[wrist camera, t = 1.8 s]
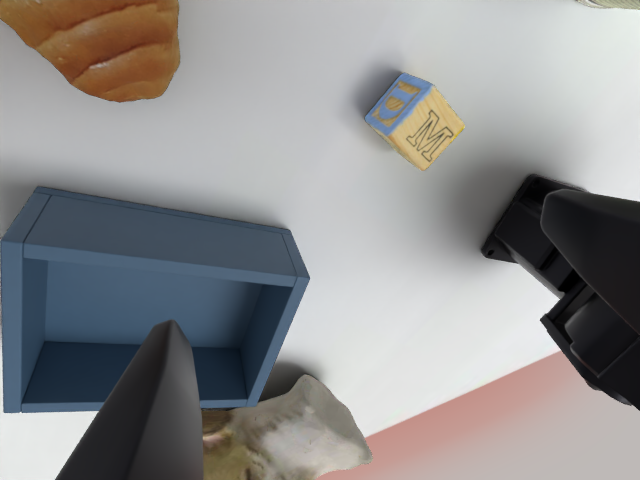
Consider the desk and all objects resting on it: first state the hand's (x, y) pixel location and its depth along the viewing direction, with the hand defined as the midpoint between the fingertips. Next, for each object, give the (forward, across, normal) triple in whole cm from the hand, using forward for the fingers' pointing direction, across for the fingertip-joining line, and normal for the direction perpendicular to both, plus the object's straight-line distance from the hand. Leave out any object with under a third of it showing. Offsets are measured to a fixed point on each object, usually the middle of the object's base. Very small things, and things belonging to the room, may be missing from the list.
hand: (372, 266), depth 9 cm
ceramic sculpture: (+13, +7, +22) cm, 27 cm away
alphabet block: (+13, -6, +2) cm, 14 cm away
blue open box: (+13, +9, +8) cm, 17 cm away
